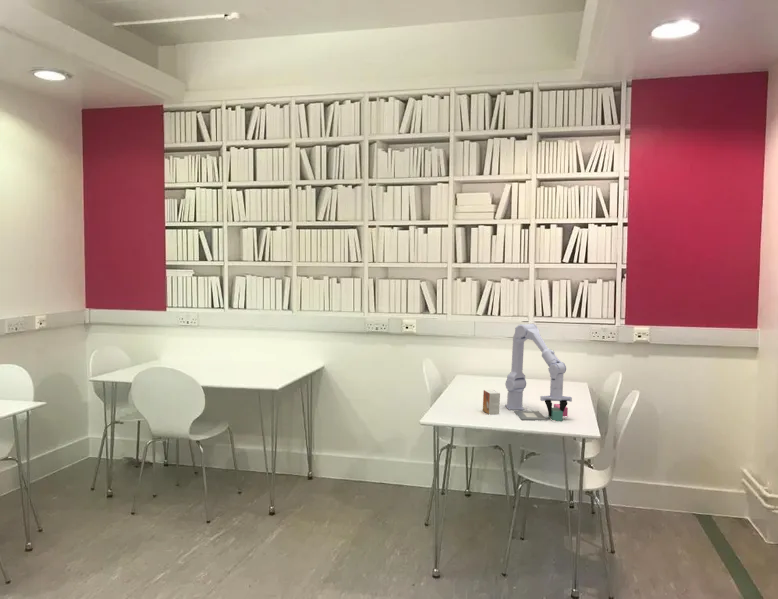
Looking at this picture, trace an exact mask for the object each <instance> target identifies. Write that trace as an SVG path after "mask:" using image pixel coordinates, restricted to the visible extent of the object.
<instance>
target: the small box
mask: <svg viewBox="0 0 778 599" xmlns="http://www.w3.org/2000/svg"><path fill="white" fill-rule="evenodd" d="M482 397H483V399H482V411H483V412H485V413H486V414H487V413H488V414H487V415H489V414H490V415H500V403H501V402H500V399H501V393H500V392H498V391H496V390H494V389H483V395H482Z"/></svg>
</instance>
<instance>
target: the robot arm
mask: <svg viewBox="0 0 778 599" xmlns="http://www.w3.org/2000/svg"><path fill="white" fill-rule="evenodd" d="M527 340H531V341H532V342H533V343H534V344H535V345H536V346H537V348H538V349H539V351H541V357H542V358H543V360H544V362H545V363H546V365H547V366H548V369H547V370H548V373H549V377H550V387H549V388H550V389H549V390H550V392H549V394H550V395H541V396H539V398H540V401H541V402H544V403H545V405H546V408H547V412H548V413H549V416H551V409H552V408H553V403H552V402H559V404H560V410H561V411H563V412H564V409H565V407H567V405H568V404H569V403H568V402H571V403H572V402H573V397H571V396H564V394H563V392H564V391H563V390H564V389H563V388H564V374H565V373H566V371H567V365H566V364H565V363H564V362H562V361H561V359H559V358H558V357H557V355H556V354H555V351H554V350H552V349H551V348H548V346H547V344H546V342H545V341H544V339H543V337H542V336H541V334H540V329H539V328H538V326H537V325H536V324H535V323H529V324H528V323H527V324H525V323H524V324H518V325H517V326H516V327H514V334H513V336H512V348H511V349H512V350H511V352H512V353H511V372H509V373H508V374H507V375H506V376H507V377H506V380H505V383H504V384H505V388H506V390H507V396H506V398H507V399H506V404H505V407H506V408H507V410H509V411H511V410H513V411H525V408H524V407H523V399H524V398H523V396H524V390H525V388H526V387H527V380H526V375H525V374H524V373H523V370H524V369H523V367H524V366H523V365H524V350H525V348H524V347H525V342H526V341H527Z"/></svg>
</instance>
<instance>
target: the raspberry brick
mask: <svg viewBox="0 0 778 599" xmlns="http://www.w3.org/2000/svg"><path fill="white" fill-rule="evenodd" d="M553 408H559V409H560V403H553ZM568 409H569V408H568V407H567V406H566V407H565V409H564V412H563V416H567V417H568V412H569V410H568Z"/></svg>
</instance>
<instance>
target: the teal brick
mask: <svg viewBox="0 0 778 599" xmlns="http://www.w3.org/2000/svg"><path fill="white" fill-rule="evenodd" d="M548 416H549V413H548V415H547V417H548ZM549 417H550V418H551V419H552V420H556V421H555V422H563V421H564V420H563V418H564V417H563V411H561V410H560V409H559V408H554V407H552V409H551V416H549ZM549 417H548V418H549ZM550 418H549V419H550ZM551 419H550V420H551ZM552 420H551V421H552Z"/></svg>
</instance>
